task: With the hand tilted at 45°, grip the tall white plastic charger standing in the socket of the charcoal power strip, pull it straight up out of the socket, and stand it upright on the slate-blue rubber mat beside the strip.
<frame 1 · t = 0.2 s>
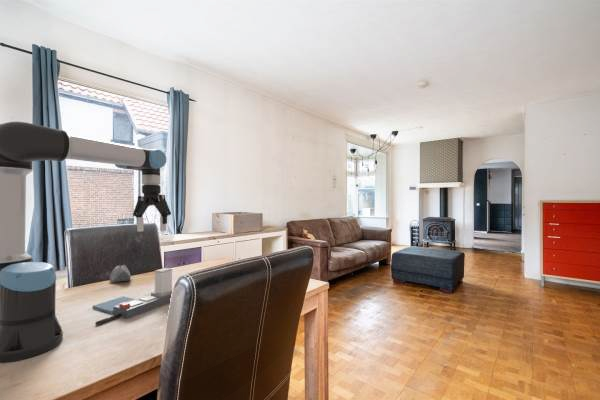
hand: (151, 231, 131), 28 cm above the table, tool pointing down, fingers open, 13 cm apart
stone: (121, 281, 147), on the table
power strip: (150, 305, 114), on the table
mat: (117, 305, 114), on the table
charger: (163, 293, 120), point 3 cm above the table, touching power strip
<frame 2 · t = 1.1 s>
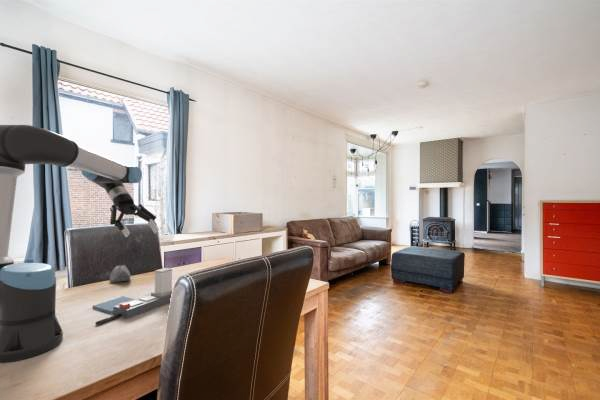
hand: (143, 233, 126), 27 cm above the table, tool tilted 45°, fingers open, 13 cm apart
nothing on the table moved.
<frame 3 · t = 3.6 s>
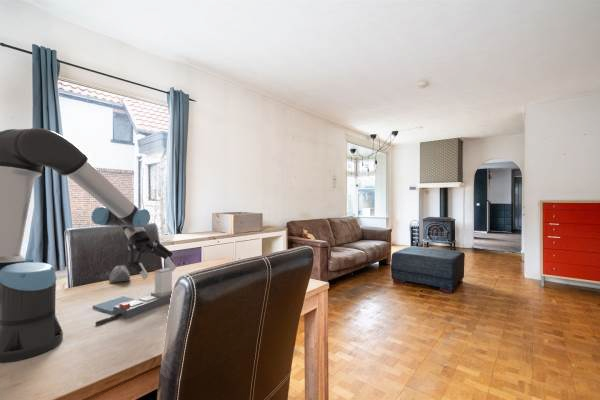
hand: (160, 273, 122), 11 cm above the table, tool tilted 45°, fingers open, 13 cm apart
nothing on the table moved.
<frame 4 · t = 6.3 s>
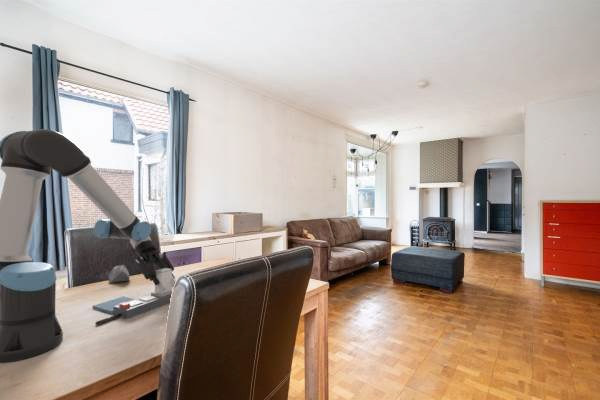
hand: (169, 288, 118), 6 cm above the table, tool tilted 45°, fingers closed on charger, 5 cm apart
charger: (163, 293, 120), point 3 cm above the table, touching gripper, power strip
everything else where it was.
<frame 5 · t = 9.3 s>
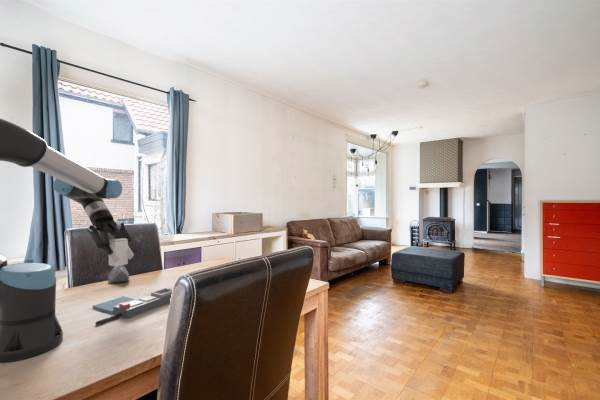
hand: (124, 258, 112), 19 cm above the table, tool tilted 45°, fingers closed on charger, 5 cm apart
charger: (118, 264, 114), point 16 cm above the table, touching gripper
everything else where it was.
when the fingers open (5 cm above the table, at t = 12.5 s): charger drops 1 cm, resting on mat.
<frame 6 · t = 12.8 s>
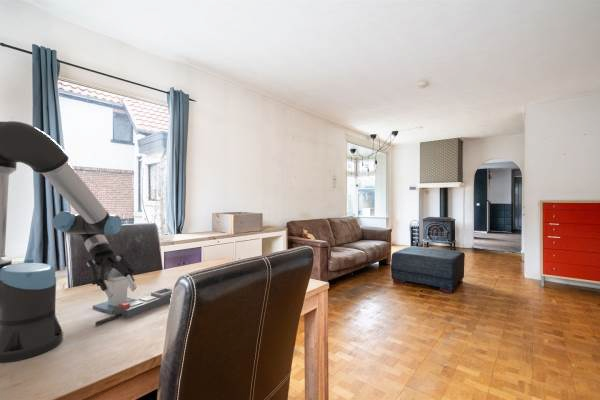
hand: (123, 292, 112), 6 cm above the table, tool tilted 45°, fingers open, 8 cm apart
charger: (117, 303, 114), point 1 cm above the table, touching mat
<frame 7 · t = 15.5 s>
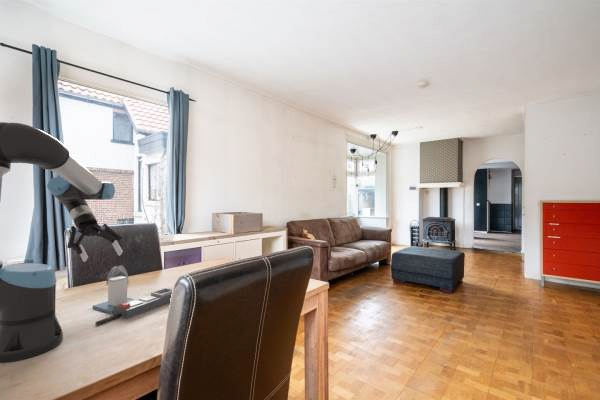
hand: (104, 256, 118), 19 cm above the table, tool tilted 45°, fingers open, 13 cm apart
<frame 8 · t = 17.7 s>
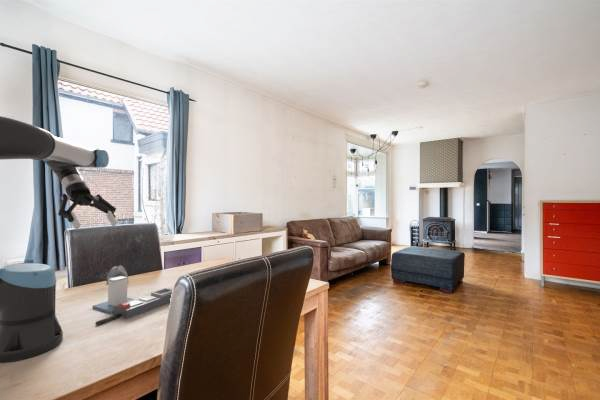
hand: (97, 225, 113), 32 cm above the table, tool tilted 45°, fingers open, 13 cm apart
at the end: charger inside the target area on the mat (0.1 cm from its centre), point 1.0 cm above the mat's base; charger tilted 0°; the gripper is holding nothing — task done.
